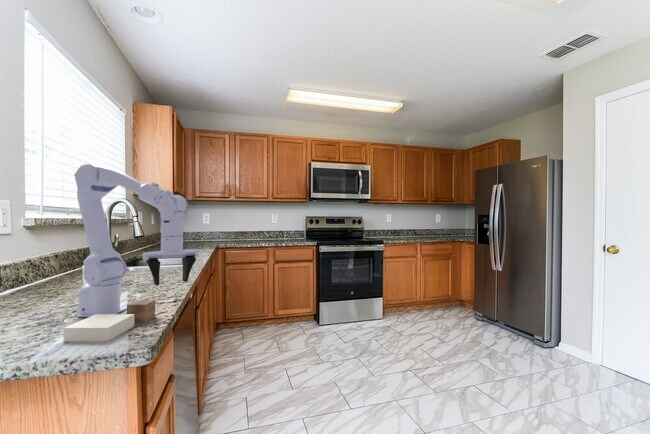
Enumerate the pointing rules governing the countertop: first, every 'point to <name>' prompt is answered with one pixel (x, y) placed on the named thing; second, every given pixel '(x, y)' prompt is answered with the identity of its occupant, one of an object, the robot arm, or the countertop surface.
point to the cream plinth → (99, 327)
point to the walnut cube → (142, 310)
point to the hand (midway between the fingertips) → (171, 283)
